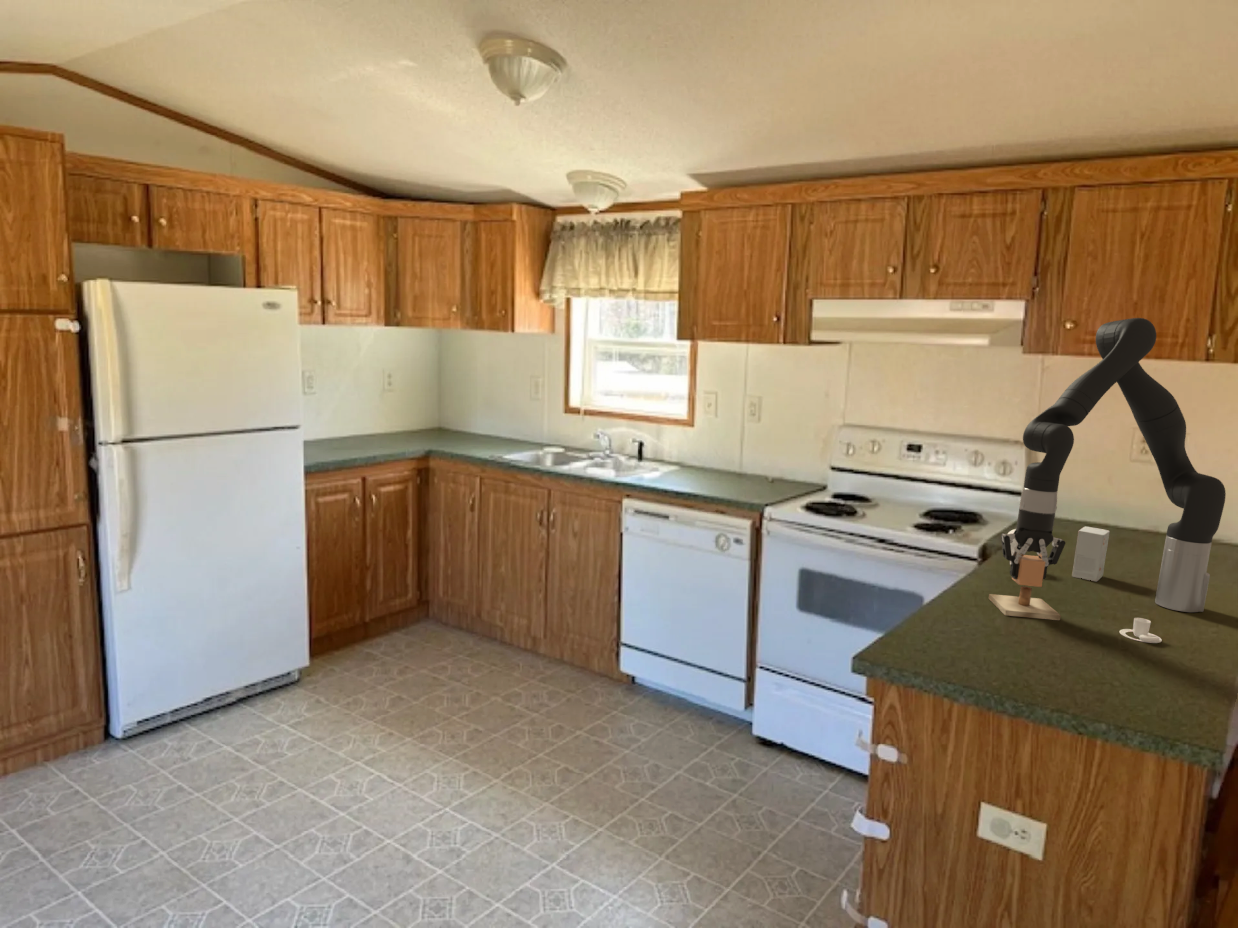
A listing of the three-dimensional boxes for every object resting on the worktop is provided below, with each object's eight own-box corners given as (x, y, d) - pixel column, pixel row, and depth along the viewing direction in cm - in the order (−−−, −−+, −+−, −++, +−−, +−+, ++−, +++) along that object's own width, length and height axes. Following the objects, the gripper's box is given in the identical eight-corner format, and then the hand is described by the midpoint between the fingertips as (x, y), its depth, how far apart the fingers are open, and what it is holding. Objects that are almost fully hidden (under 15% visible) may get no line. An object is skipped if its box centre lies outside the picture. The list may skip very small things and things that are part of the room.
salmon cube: (1033, 580, 198) (1037, 556, 197) (1041, 586, 193) (1045, 561, 192) (1011, 578, 198) (1015, 554, 197) (1018, 584, 193) (1022, 559, 192)
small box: (1077, 571, 234) (1084, 525, 232) (1103, 576, 230) (1110, 530, 228) (1070, 576, 228) (1078, 530, 225) (1097, 582, 224) (1104, 534, 221)
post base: (1040, 603, 202) (1043, 582, 201) (1060, 620, 190) (1063, 598, 189) (988, 598, 203) (991, 578, 202) (1005, 615, 191) (1008, 593, 190)
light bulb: (1030, 571, 230) (1036, 533, 228) (1005, 569, 231) (1010, 530, 229) (1024, 565, 236) (1029, 527, 234) (999, 562, 237) (1004, 525, 236)
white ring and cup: (1161, 648, 177) (1164, 630, 176) (1118, 639, 181) (1121, 621, 180) (1161, 637, 184) (1164, 619, 183) (1119, 628, 188) (1122, 611, 187)
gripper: (1063, 507, 196) (1052, 577, 198) (999, 502, 197) (989, 571, 200) (1076, 514, 188) (1065, 587, 191) (1010, 509, 190) (1000, 581, 193)
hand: (1026, 578), depth 195 cm, fingers closed on salmon cube, 5 cm apart
